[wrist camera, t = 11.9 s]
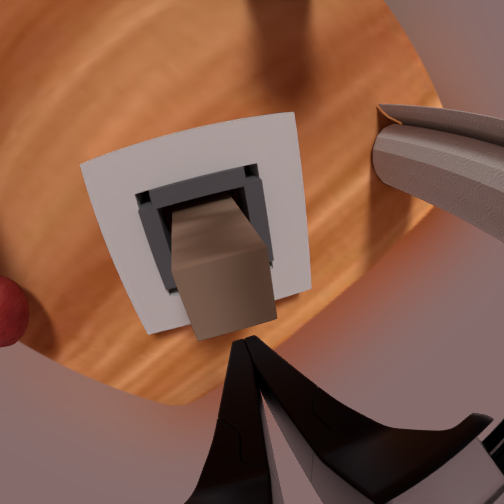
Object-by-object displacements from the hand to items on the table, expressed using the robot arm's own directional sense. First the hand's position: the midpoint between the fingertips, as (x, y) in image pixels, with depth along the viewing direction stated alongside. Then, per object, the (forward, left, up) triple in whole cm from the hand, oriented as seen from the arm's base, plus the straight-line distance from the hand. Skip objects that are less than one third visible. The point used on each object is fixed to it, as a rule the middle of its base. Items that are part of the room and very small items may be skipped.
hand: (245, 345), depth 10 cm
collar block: (0, 0, -13) cm, 13 cm away
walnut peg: (0, 0, -13) cm, 13 cm away
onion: (-19, -1, -13) cm, 23 cm away
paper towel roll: (+18, +3, -13) cm, 23 cm away
